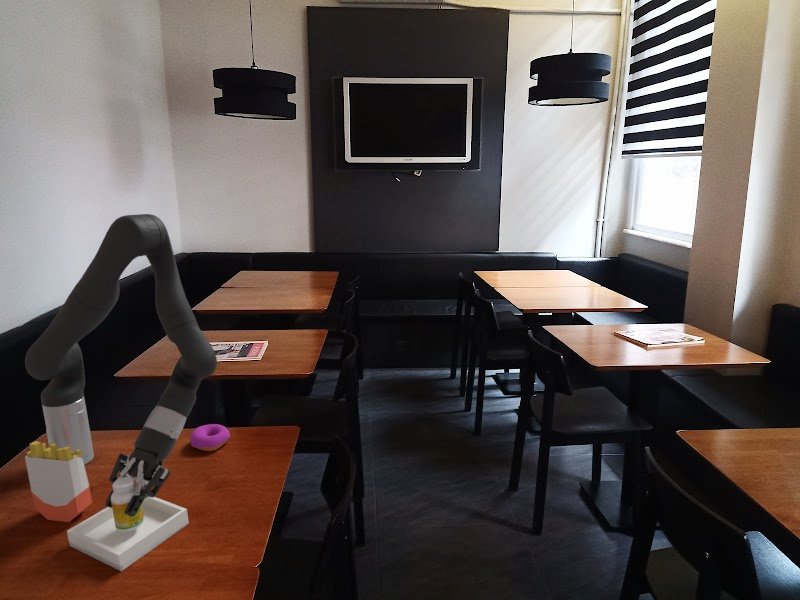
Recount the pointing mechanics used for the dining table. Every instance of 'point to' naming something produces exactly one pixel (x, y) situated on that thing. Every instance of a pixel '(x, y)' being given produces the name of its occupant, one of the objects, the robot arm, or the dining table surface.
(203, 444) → the donut
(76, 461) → the french fries container
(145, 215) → the robot arm
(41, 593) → the dining table surface
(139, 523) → the supplement bottle
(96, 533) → the tray
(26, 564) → the dining table surface
